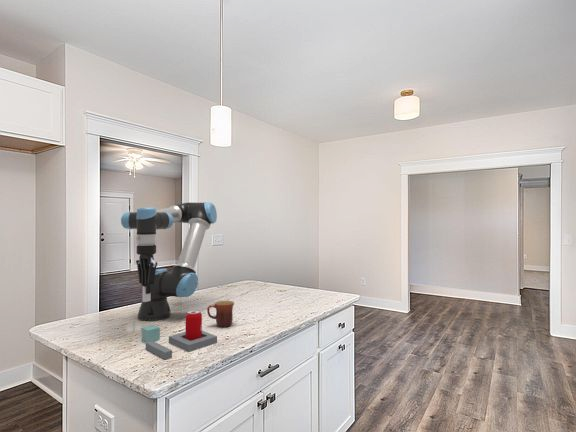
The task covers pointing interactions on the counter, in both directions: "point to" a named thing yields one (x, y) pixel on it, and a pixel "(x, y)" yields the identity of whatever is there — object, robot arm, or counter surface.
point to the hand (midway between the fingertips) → (146, 301)
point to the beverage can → (193, 325)
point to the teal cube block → (150, 333)
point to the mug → (222, 313)
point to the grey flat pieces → (181, 344)
